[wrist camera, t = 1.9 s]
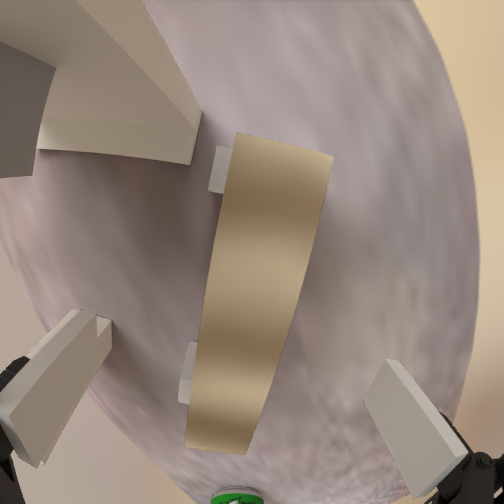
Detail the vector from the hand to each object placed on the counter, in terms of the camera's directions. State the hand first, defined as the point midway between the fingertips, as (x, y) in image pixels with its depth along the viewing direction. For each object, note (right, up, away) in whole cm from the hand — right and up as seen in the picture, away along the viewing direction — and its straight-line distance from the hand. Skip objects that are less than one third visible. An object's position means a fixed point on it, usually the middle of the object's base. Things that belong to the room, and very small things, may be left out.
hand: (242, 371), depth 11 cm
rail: (0, +2, +5) cm, 6 cm away
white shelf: (-12, +6, +9) cm, 16 cm away
